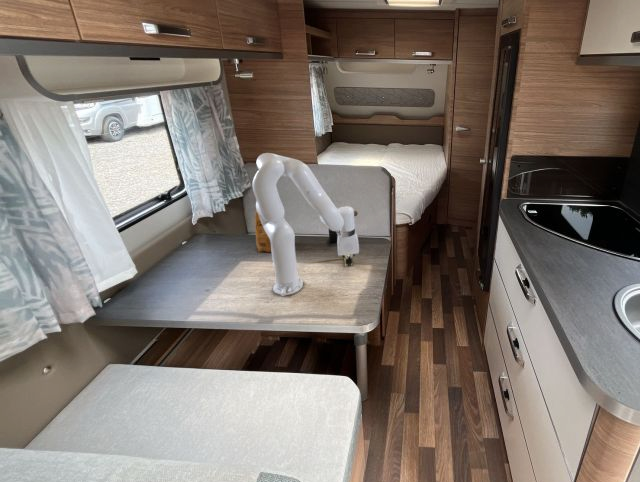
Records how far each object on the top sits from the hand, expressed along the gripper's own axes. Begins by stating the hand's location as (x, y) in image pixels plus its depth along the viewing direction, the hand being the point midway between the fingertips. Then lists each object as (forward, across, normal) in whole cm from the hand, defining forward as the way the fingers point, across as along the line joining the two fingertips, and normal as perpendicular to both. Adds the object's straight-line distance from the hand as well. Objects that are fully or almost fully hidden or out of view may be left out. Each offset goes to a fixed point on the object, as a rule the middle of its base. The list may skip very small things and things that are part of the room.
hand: (349, 264), depth 167 cm
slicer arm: (-11, +1, +28) cm, 30 cm away
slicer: (+1, -6, +28) cm, 29 cm away
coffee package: (+2, -40, +30) cm, 50 cm away
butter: (+1, 0, +5) cm, 5 cm away
